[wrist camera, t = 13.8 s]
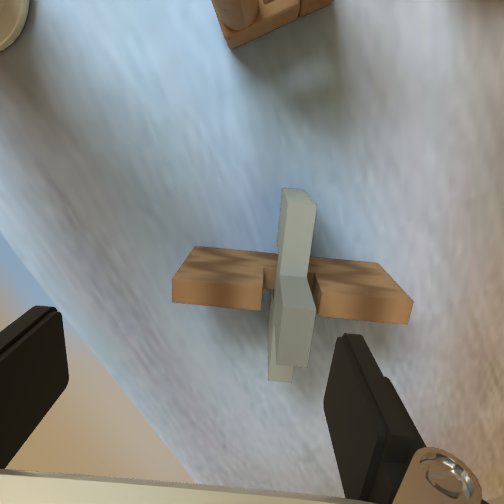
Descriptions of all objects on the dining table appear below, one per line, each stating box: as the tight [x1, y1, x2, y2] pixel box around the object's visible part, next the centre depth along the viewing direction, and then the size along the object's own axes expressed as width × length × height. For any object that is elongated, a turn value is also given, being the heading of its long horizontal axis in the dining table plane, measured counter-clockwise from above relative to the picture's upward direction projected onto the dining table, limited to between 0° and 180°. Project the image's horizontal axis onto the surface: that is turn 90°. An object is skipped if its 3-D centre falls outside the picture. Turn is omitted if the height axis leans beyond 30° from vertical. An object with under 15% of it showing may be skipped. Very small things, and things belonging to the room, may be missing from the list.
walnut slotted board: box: [172, 246, 414, 325], centre depth 35 cm, size 22×2×10 cm, turn 85°
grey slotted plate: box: [268, 188, 317, 383], centre depth 32 cm, size 18×2×16 cm, turn 175°
